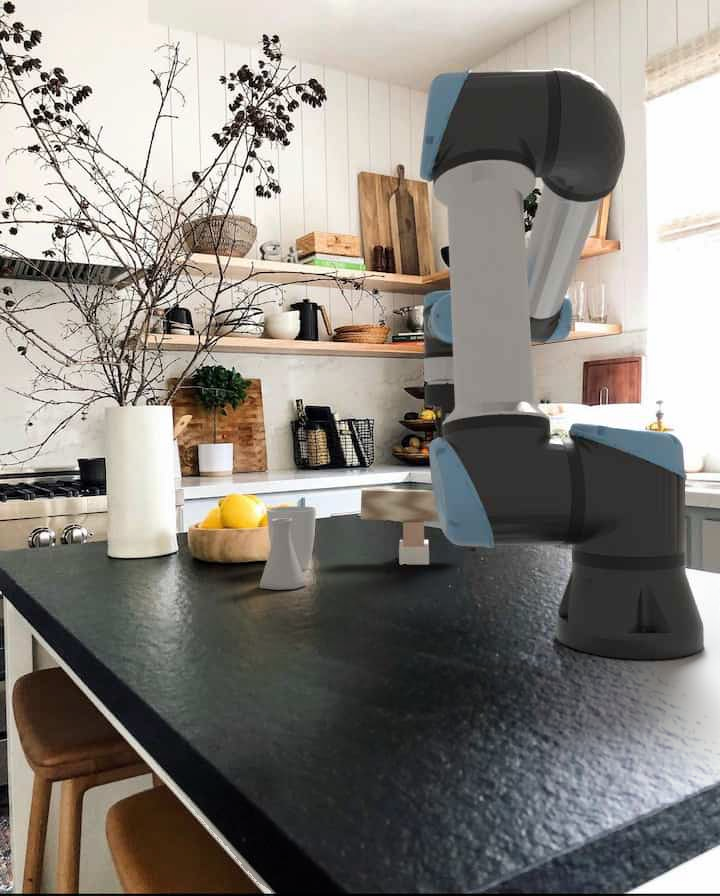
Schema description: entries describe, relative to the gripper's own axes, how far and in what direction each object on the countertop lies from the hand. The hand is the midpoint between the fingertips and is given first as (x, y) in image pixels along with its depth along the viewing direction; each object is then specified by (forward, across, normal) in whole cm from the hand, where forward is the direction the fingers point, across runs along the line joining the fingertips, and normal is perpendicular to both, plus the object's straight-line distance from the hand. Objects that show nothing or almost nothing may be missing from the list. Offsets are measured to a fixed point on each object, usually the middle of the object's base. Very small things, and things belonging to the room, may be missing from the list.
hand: (448, 518), depth 141 cm
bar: (0, 0, +6) cm, 6 cm away
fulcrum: (+7, 0, +6) cm, 9 cm away
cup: (+7, -8, +26) cm, 28 cm away
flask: (+7, -22, +26) cm, 34 cm away
